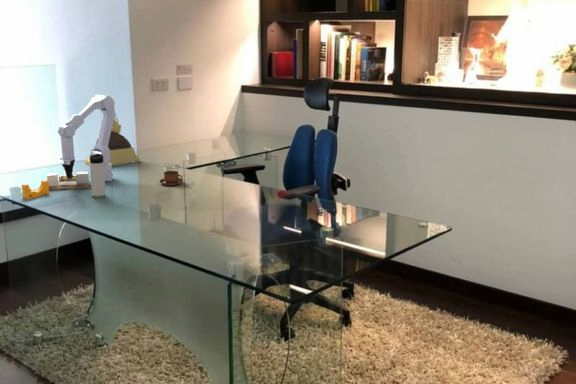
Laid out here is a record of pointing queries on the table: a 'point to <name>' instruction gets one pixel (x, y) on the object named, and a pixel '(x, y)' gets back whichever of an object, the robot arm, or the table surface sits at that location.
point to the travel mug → (97, 176)
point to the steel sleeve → (82, 178)
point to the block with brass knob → (64, 178)
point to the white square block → (52, 179)
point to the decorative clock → (118, 147)
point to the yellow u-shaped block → (36, 193)
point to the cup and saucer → (171, 178)
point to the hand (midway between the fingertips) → (69, 175)
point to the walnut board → (68, 186)
